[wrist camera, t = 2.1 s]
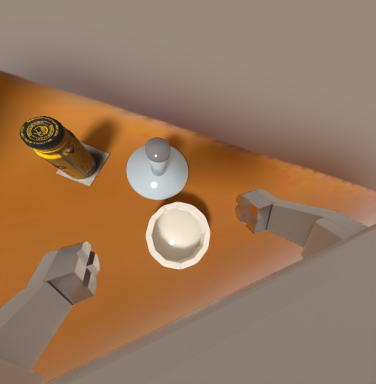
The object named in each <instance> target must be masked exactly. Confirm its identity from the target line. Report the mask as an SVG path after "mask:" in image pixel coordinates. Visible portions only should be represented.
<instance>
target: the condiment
mask: <svg viewBox="0 0 376 384" xmlns="http://www.w3.org/2000/svg"><path fill="white" fill-rule="evenodd" d="M20 136H21V138H22V140H23V141H24V142H25V143H26V144H27V145H28V146H30V147H32V148H33V149H34V151H35V152H36V154H38V155H39V156H40V157H41V158H43V159H45V160H46V161H48V162H49V163H51V164H52V165H54V166H55V167H57V168H58V169H59V170H58V171H57V172H56V173H57V174H60V175H62V176H65V177H67V178H70V179H72V180H75V181H77V182H80V183H83V184H85V185H88V186H90V185H91V184H92V182H93V181H94V179H95V177H96V176H97V174H98V172H99V171H100V169H101V167H102V165H103V164H104V163H105V161H106V159H107V157H108V156H109V153H107V152H104V151H101V150H99V149H96V148H94V147H91V146H89V145H86V144H84V143H82V142H80V141H79V140H78V139H77V138H76V137H75V136H74V134H73V133H72V132H71V131H69V130H67V129H66V128H65V127H63V126H62V124H61V123H60V122H58V121H57V120H55V119H53V118H51V117H46V116H40V117H35V118H32V119H30V120H28V121H26V122H25V123H24V124H23V126H22V127H21V131H20Z"/></svg>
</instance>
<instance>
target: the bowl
mask: <svg viewBox="0 0 376 384" xmlns="http://www.w3.org/2000/svg"><path fill="white" fill-rule="evenodd" d="M146 235H147V236H146V239H147V244H148V248H149V252H150V253H151V255H152V256H153V257H154V258H155V259H156V260H157V261H158V262H159V263H160V264H161V265H162V266H165V267H170V268H175V269H180V268H181V269H183V268H186V267H188V266H191V265H193V264H196V262H198V261H199V260H200V259H201V257H202V256H203V255H204V253H205V252H206V251H207V248H208V245H209V239H210V229H209V226H208V223H207V220H206V217H204V215H203V214H202V213H201V212H200V211H199V210H198V209H197V208H196V207H195V206H193V205H190V204H186V203H182V202H175V203H172V204H168V205H164V206H163V207H161V208H160V209H159V210H158V211H157V212H156V213H155V214H154V215H153V216H152V217H151V219H150V221H149V225H148V228H147V232H146Z"/></svg>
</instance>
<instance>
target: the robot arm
mask: <svg viewBox="0 0 376 384" xmlns="http://www.w3.org/2000/svg"><path fill="white" fill-rule="evenodd" d="M236 202H237V203H238V204H237V206H236V209H235V212H236V215H237V217H238V219H239V220H240V221H241V222H244V223H246V227H247V228H248V229H249V230H250V231H251V232H252V233H253V234H256V233H259V232H262V231H264V230H266V231H269V232H271V233H273V234H275V235H278V236H280V237H282V238H284V239H286V240H289V241H291V242H293V243H295V244H298V245H300V246H302V247H304V248H303V250H302V252H301V256H302V257H303V258H304V259H302V260H300V261H298V262H296V263H293V264H291V265H289V266H287V267H285V268H283V269H281V270H279V271H277V272H275V273H273V274H271V275H269V276H266V277H264V278H262V279H260V280H258V281H256V282H254V283H252V284H250V285H248V286H246V287H244V288H242V289H239V290H237V291H235V292H233V293H231V294H229V295H227V296H225V297H223V298H221V299H219V300H217V301H215V302H212V303H210V304H208V305H206V306H204V307H202V308H200V309H198V310H196V311H194V312H192V313H190V314H188V315H185V316H183V317H181V318H179V319H177V320H175V321H173V322H171V323H169V324H167V325H165V326H163V327H161V328H158V329H156V330H154V331H152V332H150V333H148V334H146V335H144V336H142V337H140V338H138V339H136V340H134V341H132V342H129V343H127V344H125V345H123V346H121V347H119V348H117V349H115V350H113V351H111V352H109V353H107V354H105V355H102V356H100V357H98V358H96V359H94V360H92V361H90V362H88V363H86V364H84V365H82V366H80V367H78V368H76V369H73V370H71V371H69V372H67V373H65V374H63V375H61V376H59V377H57V378H55V379H53V380H51V381H49V382H46V383H44V379H45V377H44V375H43V374H41V373H38V372H35V371H33V370H32V368H33V367H34V365H35V363H36V362H37V360H38V359H39V357H40V356H41V354H42V353H43V351H44V350H45V348H46V347H47V345H48V344H49V342H50V341H51V339H52V337H53V336H54V334H55V333H56V331H57V330H58V328H59V327H60V325H61V324H62V322H63V321H64V319H65V318H66V316H67V315H68V313H69V311H70V310H71V308H72V307H73V305H74V304H76V303H79V302H81V301H83V300H86V299H88V298H91V297H93V296H95V291H96V285H97V280H96V279H95V276H96V275H97V274H98V272H99V267H100V266H99V259H98V256H97V254H96V253H95V252H92V251H90V250H91V245H90V244H89V242H86V241H85V242H81V243H77V244H74V245H70V246H67V247H63V248H61V249H57V250H53V251H50V252H48V253H46V254H45V255H44V257H43V258H42V260H41V262H40V264H39V266H38V267H37V269H36V271H35V273H34V275H33V276H32V278H31V280H30V282H29V283H28V285H27V287H26V289H24V290H21V291H20V292H18V293H17V294H16V295H15V296H14V297H13V298H12V299H11V300H10V301H8V302H7V303H6V304H5V305H4V306H3V307H2V308H1V309H0V384H43V383H44V384H376V224H374V225H372V226H370V227H367V226H365V225H363V224H361V223H359V222H357V221H355V220H353V219H351V218H349V217H347V216H345V215H343V214H341V213H339V212H337V211H332V210H327V209H323V208H318V207H313V206H309V205H304V204H299V203H294V202H290V201H285V200H284V201H281V200H280V199H278V198H276V197H275V196H273V195H271V194H270V193H268V192H266V191H265V190H263V189H260V188H259V189H256V190H253V191H250V192H247V193H244V194H241V195H238V196H237V198H236Z"/></svg>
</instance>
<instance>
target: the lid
mask: <svg viewBox="0 0 376 384" xmlns="http://www.w3.org/2000/svg"><path fill="white" fill-rule="evenodd" d="M127 178H128V181H129V183H130V184H131V186H132V187H133V189H134V190H135V191H136V192H137V193H138V194H140V195H141V196H143V197H145V198H148V199H152V200H164V199H168V198H171V197H173V196H175V195H176V194H178V193H179V192H180V191H181V190H182V189H183V187H184V186H185V184H186V181H187V178H188V165H187V162H186V160H185V158H184V157H183V155H182V154H181V153H180V152H179V151H178V150H176V149H175V148H173V147H171V146H170V144H169V143H168V142H167V141H166V140H165V139H162V138H152V139H150V140H149V141H148V142H147V143H146V145H145V146H142V147H140V148H139V149H137V150H136V151H135V152H134V153H133V154H132V155H131V157H130V159H129V161H128V164H127Z"/></svg>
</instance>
